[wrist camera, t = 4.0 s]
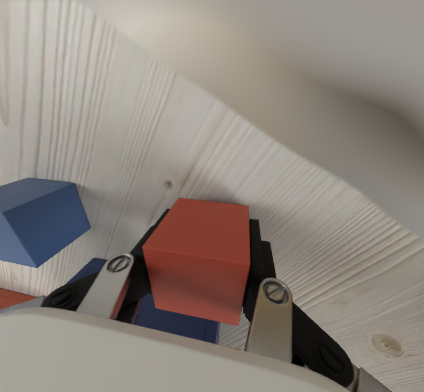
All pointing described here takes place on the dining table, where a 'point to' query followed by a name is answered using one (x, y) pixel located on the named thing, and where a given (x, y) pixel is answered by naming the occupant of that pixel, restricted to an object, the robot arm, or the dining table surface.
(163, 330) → the blue bin
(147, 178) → the dining table surface
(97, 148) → the dining table surface
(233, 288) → the red block
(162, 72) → the dining table surface
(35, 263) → the blue block
